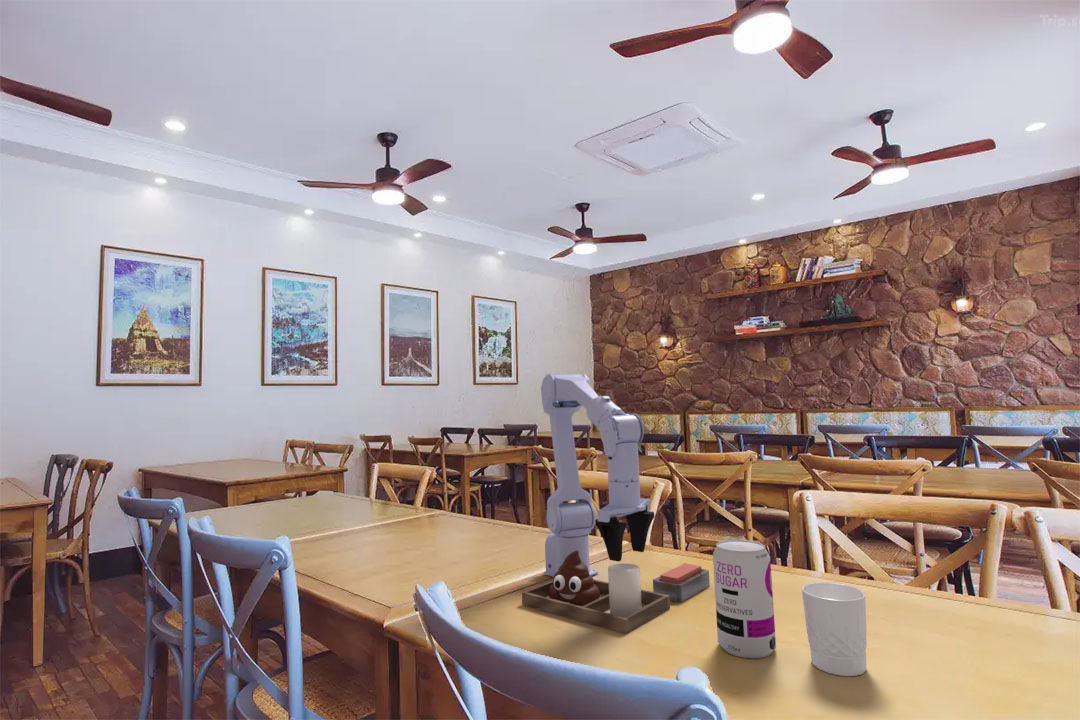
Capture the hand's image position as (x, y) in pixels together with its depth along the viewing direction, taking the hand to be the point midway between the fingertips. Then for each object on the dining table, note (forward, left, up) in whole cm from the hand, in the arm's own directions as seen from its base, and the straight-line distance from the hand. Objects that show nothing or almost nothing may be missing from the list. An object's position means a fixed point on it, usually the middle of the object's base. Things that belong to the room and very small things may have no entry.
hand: (627, 555), depth 104 cm
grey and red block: (+3, +14, -9) cm, 17 cm away
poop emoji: (-11, -2, -10) cm, 15 cm away
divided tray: (-6, -3, -9) cm, 11 cm away
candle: (+11, +22, -10) cm, 26 cm away
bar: (+3, +14, -8) cm, 17 cm away
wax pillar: (+1, -3, -9) cm, 10 cm away
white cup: (+35, -2, -10) cm, 36 cm away
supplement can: (+23, -4, -10) cm, 25 cm away
